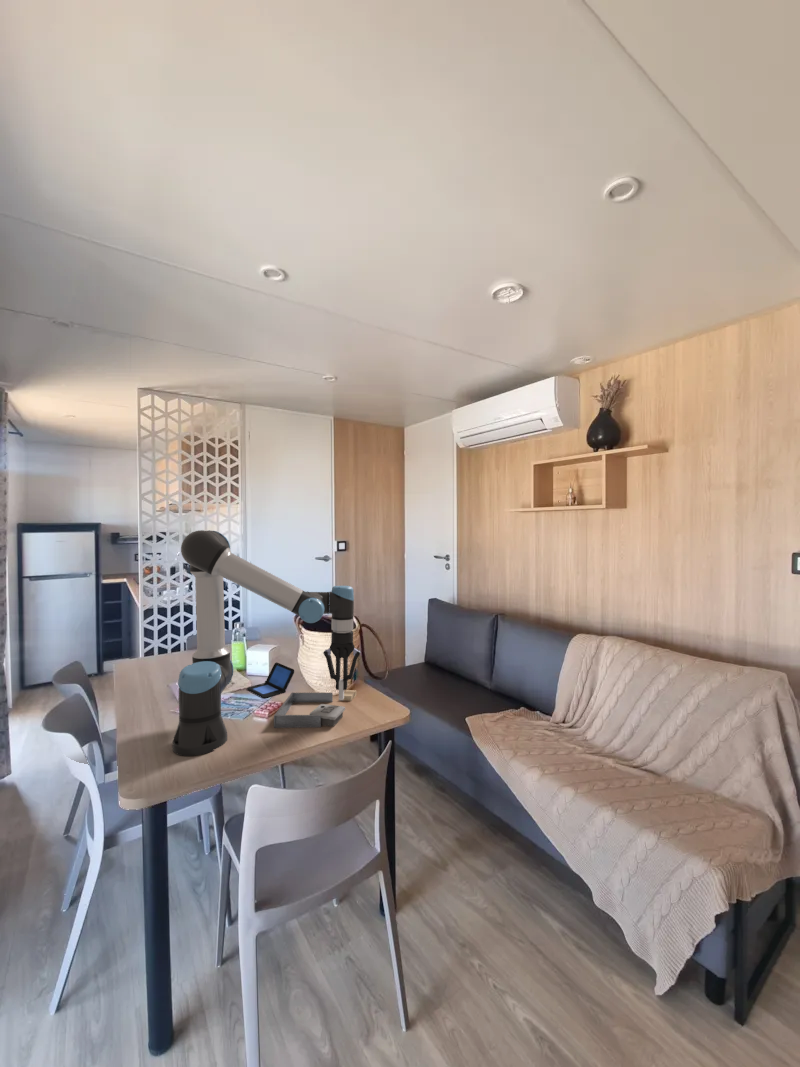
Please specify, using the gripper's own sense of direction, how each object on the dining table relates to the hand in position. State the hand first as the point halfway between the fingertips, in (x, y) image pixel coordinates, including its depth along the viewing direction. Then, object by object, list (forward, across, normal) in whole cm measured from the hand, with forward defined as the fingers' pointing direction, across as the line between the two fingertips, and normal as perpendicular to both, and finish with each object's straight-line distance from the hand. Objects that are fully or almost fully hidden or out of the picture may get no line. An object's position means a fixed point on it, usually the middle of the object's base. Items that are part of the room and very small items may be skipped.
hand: (341, 698), depth 156 cm
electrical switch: (+6, +8, +5) cm, 11 cm away
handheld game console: (+7, +32, -24) cm, 41 cm away
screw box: (+6, -1, -14) cm, 15 cm away
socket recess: (+6, +12, 0) cm, 14 cm away
